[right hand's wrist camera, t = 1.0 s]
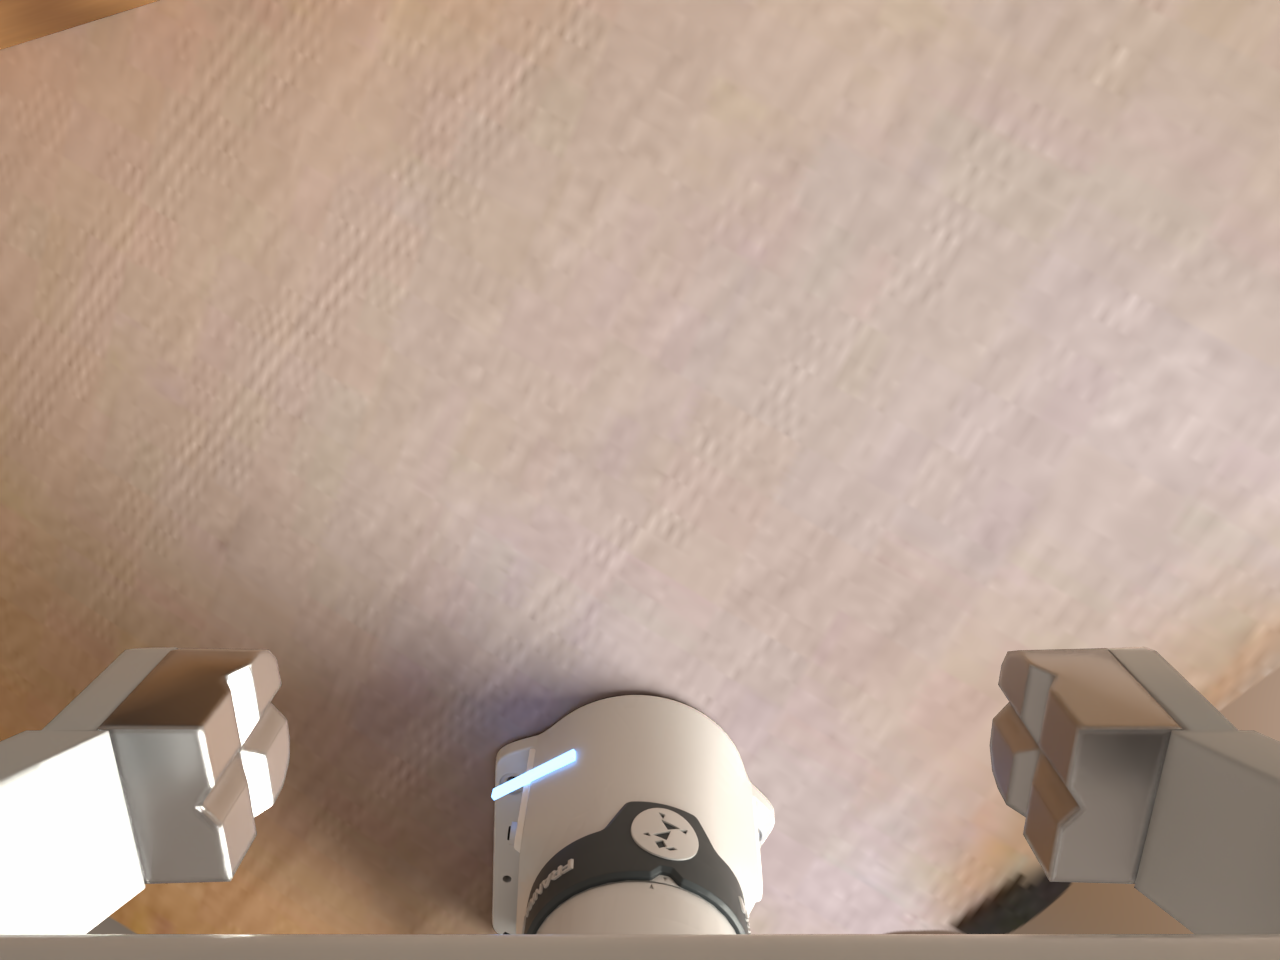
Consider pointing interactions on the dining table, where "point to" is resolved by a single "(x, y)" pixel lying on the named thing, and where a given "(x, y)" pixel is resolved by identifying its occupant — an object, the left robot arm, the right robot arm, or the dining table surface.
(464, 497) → the dining table surface
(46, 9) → the beam
